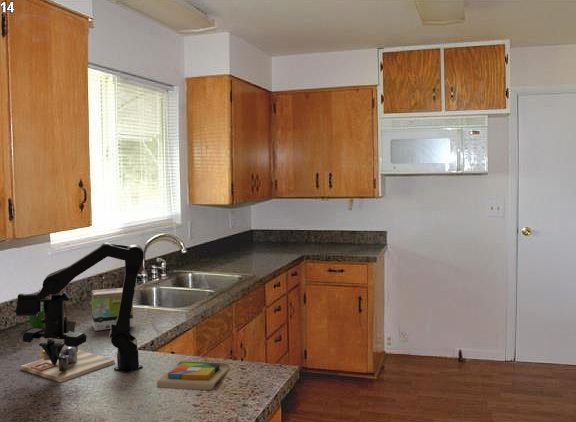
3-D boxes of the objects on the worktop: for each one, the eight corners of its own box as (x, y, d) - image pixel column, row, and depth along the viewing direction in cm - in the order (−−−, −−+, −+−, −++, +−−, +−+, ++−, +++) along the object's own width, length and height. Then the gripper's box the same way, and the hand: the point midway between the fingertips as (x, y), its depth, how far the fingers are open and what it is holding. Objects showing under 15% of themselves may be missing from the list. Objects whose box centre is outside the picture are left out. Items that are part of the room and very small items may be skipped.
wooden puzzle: (230, 369, 185) (230, 358, 185) (213, 392, 167) (213, 380, 167) (177, 366, 188) (177, 356, 188) (155, 389, 170) (155, 377, 169)
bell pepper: (42, 331, 230) (40, 306, 229) (25, 330, 232) (23, 305, 231) (56, 326, 237) (55, 301, 237) (40, 324, 240) (39, 300, 239)
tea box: (94, 332, 228) (93, 294, 227) (92, 325, 237) (90, 289, 236) (133, 327, 234) (132, 290, 233) (130, 321, 243) (128, 286, 242)
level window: (57, 365, 186) (56, 364, 186) (41, 371, 181) (41, 369, 181) (46, 362, 189) (46, 361, 189) (31, 367, 184) (30, 366, 184)
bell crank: (82, 351, 199) (81, 338, 198) (71, 372, 179) (70, 357, 178) (47, 353, 197) (46, 340, 196) (31, 374, 177) (30, 360, 176)
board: (114, 363, 191) (114, 359, 191) (60, 382, 175) (60, 378, 174) (75, 352, 203) (74, 349, 203) (20, 369, 186) (20, 365, 186)
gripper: (95, 310, 184) (96, 358, 185) (43, 306, 188) (44, 353, 189) (75, 319, 173) (76, 371, 175) (20, 315, 177) (21, 365, 179)
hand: (54, 364), depth 180 cm, fingers closed
